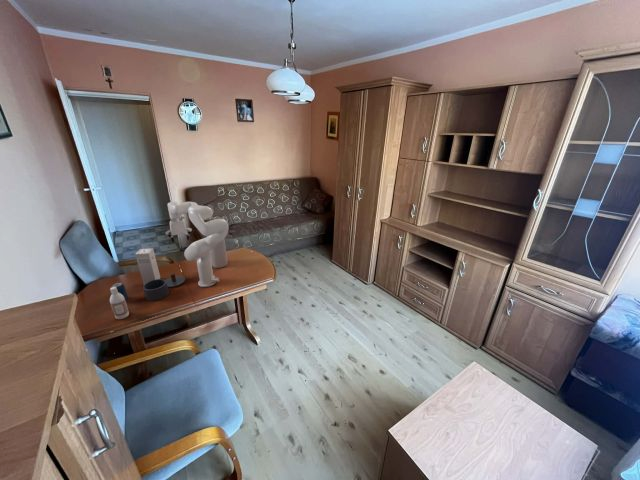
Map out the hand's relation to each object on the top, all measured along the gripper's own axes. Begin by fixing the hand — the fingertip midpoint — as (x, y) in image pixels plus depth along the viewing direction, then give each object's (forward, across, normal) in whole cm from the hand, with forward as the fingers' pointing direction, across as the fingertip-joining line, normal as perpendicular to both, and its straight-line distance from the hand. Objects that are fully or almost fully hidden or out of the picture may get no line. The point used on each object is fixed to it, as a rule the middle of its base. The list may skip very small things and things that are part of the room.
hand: (180, 241), depth 195 cm
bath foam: (+28, +40, +35) cm, 60 cm away
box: (+28, +24, -1) cm, 37 cm away
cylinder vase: (+28, -25, -4) cm, 38 cm away
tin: (+28, +21, +20) cm, 41 cm away
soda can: (+28, +41, +15) cm, 52 cm away
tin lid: (+28, +10, +8) cm, 30 cm away
